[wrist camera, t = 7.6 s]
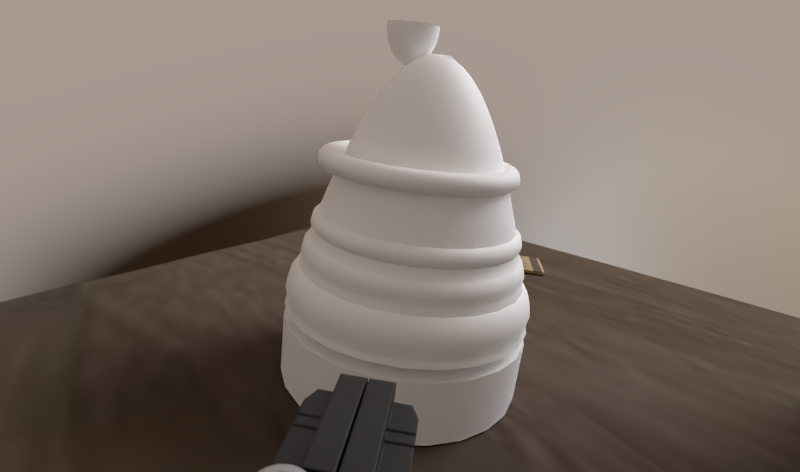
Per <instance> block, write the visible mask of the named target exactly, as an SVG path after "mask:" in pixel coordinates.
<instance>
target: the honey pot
mask: <svg viewBox="0 0 800 472" xmlns="http://www.w3.org/2000/svg"><path fill="white" fill-rule="evenodd" d="M387 31H388V40H389V44H390V47H391V50H392V52H393V54H394V55H395V57H396V58H397V59H398V60H399V61H400V62H401V63H402V64H404V65H407V66H405V67H404V68H403V69H401V70H400V71H399V72H398V73H397V74H396V75H395V76H394V77H393V78H392V79H391V81H390V82H389V83H388V84H387V85H386V86H385V88H384V89H383V90H382V91H381V92H380V94H379V95H378V96H377V98H376V99H375V101H374V102H373V103H372V105H371V107H370V108H369V110H368V111H367V113H366V114H365V116H364V117H363V119H362V121H361V123H360V124H359V126H358V128H357V129H356V131H355V133H354V135H353V137H352V138H351V140H345V141H336V142H331V143H328V144H325V145H323V146H322V147H321V149H320V151H319V153H318V156H317V157H318V162H319V163H320V165H321V166H322V167H323V168H324V169H325V170H326V171H328V172H329V173H331V174H333V177H332V179H331V181H330V183H329V186H328V188H327V190H326V192H325V195H324V197H323V199H322V202H321V203H320V204H319V205H317V206H316V207H315V208H314V211H313V214H312V217H311V228H310V229H309V230H308V231H307V233H306V234H305V237H304V240H303V243H302V247H301V253H300V254H299V255H298V256H297V258H296V259H295V260H294V261H293V262H292V265H291V268H290V271H289V274H288V278H287V281H286V285H285V286H286V292H287V296H286V299H285V302H284V303H285V306H286V308H285V312H284V319H283V337H282V355H281V372H282V376H283V380H284V385H285V387H286V389H287V390H288V391H289V393H290V394H291V395H292V397H293V398H294V400H295V401H296V402H297V404H298V405H299V406H300V407H301V405H302V403H303V401H304V399H305V398H307V397H308V396H309V395H311V394H312V393H313V392H315V391H316V390H317V389H322V390H327V391H333V390H334V388H335V386H336V384H337V381H338V379H339V377H340V375H341V374H348V375H354V376H359V377H365V378H368V381H369V379H370V378H372V379H377V380H383V381H389V382H395V383H396V391H395V399H394V402H396V403H401V404H407V405H413V408H414V410H415V412H416V414H417V417H418V419H419V421H418V428H417V435H416V442H415V445H418V446H430V445H437V444H443V443H450V442H456V441H462V440H464V439H467V438H469V437H472V436H474V435H476V434H479V433H481V432H484V431H486V430H488V429H489V428H490V427H492V426H493V425H494V424H495V423H496V422H497V421H499V420H500V419H501V418H502V417H503V416H504V415H505V413H506V411H507V409H508V407H509V405H510V403H511V400H512V398H513V393H514V388H515V384H516V379H517V374H518V369H519V365H520V360H521V355H522V351H523V346H524V343H523V338H524V337H525V335H526V324H527V321H528V319H529V317H530V305H529V298H528V292H527V290H526V288H525V286H524V284H523V279H524V269H523V262H522V260H521V258H520V255H519V252H520V251H521V248H522V241H521V235H520V233H519V231H518V230H517V229H516V228H515V222H514V215H513V209H512V202H511V197H510V192H512V191H513V190H515V189H516V188H517V187H518V186H519V184H520V175H519V172H518V170H517V169H516V168H515V167H513V166H511V165H510V164H508V163H505V162H503V158H502V153H501V149H500V146H499V142H498V138H497V135H496V131H495V129H494V125H493V122H492V119H491V116H490V114H489V111H488V109H487V106H486V104H485V101H484V99H483V97H482V95H481V93H480V91H479V89H478V87H477V86H476V84H475V83H474V81H473V79H472V78H471V76H470V75H469V74H468V73H467V71H466V70H465V69H464V68H463V67H462V66H461V65H460V64H459V63H458V62H456V61H455V60H454V58H453V57H452V56H449V55H440V54H431V52H432V51H433V49H434V47H435V45H436V42H437V40H438V36H439V31H440V27H439V26H436V25H432V24H427V23H421V22H412V21H404V20H389V21H388V24H387Z"/></svg>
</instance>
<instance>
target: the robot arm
mask: <svg viewBox="0 0 800 472" xmlns="http://www.w3.org/2000/svg"><path fill="white" fill-rule="evenodd" d="M395 391H396V383H395V382H389V381H383V380H377V379H372V378H370V379H369V381H368V378H365V377H359V376H354V375H348V374H341V375H340V377H339V379H338V381H337V384H336V386H335V388H334V390H333V391H327V390H322V389H317V390H316V391H315V392H313V393H312V394H311V395H309V396H308V397H307V398H305V399H304V401H303V403H302V405H301V407H300V409H299V411H298V414H297V415H296V417H295V419H294V421H293V423H292V426H290V428H289V430H288V432H287V434H286V436H285V438H284V440H283V442H282V444H281V446H280V448H279V450H278V452H277V454H276V456H275V458H274V459H273V461H272V463H271V465H270V466H267V467H265V468H263V469H261V470H259V471H258V472H411V471H412V464H413V456H414V449H415V442H416V435H417V428H418V421H419V419H418V417H417V414H416V412H415V410H414V408H413V405H407V404H401V403H396V402H394V399H395ZM165 472H189V471H185V470H170V471H165Z"/></svg>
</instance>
